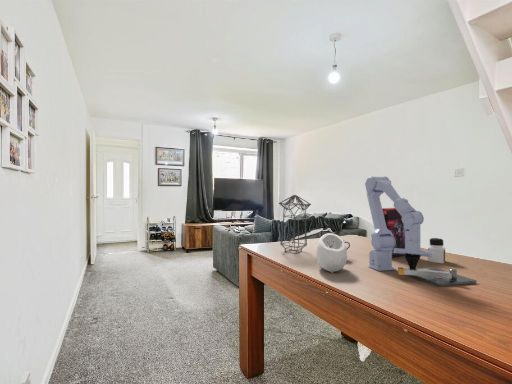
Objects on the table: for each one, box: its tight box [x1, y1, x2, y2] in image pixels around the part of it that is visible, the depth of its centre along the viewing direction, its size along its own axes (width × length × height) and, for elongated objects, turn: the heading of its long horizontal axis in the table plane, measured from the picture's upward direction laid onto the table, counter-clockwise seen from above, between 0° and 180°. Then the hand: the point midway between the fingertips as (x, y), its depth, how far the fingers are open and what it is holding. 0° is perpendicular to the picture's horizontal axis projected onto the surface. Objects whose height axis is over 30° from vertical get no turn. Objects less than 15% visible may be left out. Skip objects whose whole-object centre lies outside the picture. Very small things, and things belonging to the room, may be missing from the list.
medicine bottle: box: [427, 237, 446, 264], centre depth 149 cm, size 7×7×12 cm
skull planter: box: [315, 232, 348, 274], centre depth 135 cm, size 14×20×19 cm
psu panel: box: [408, 266, 477, 288], centre depth 121 cm, size 18×21×2 cm
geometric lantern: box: [278, 194, 312, 255], centre depth 173 cm, size 16×16×35 cm
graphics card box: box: [380, 207, 405, 258], centre depth 163 cm, size 17×7×27 cm, turn 119°
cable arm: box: [397, 266, 458, 281], centre depth 116 cm, size 21×3×4 cm, turn 70°
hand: (412, 272), depth 120 cm, fingers closed
